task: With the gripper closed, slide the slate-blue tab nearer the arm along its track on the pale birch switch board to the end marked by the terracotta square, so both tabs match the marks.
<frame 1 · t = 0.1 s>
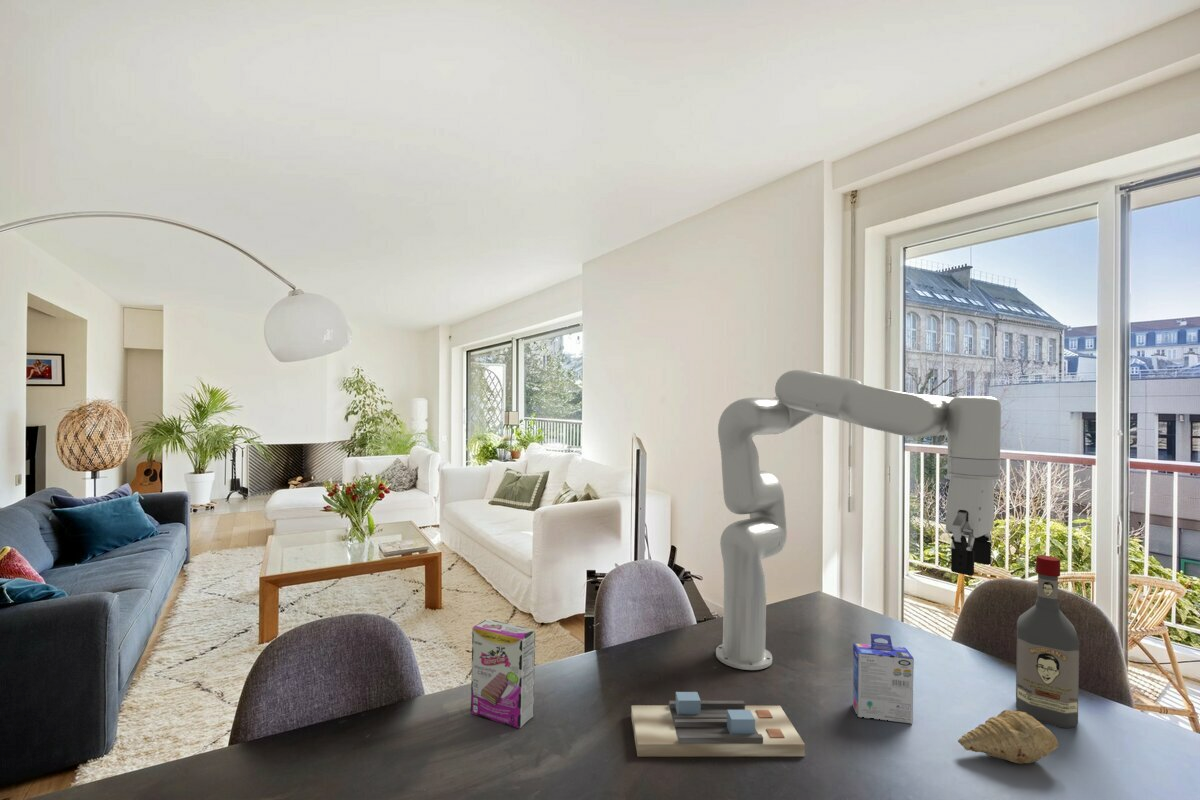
hand: (971, 568, 97), 31 cm above the table, tool pointing down, fingers open, 9 cm apart
ink cartridge box: (881, 714, 108), on the table
candy bar box: (501, 717, 105), on the table
switch board: (713, 735, 100), on the table
seashell: (1002, 761, 95), on the table
liquor: (1045, 714, 109), on the table
tab a: (687, 704, 103), point 4 cm above the table, slide at 0.0 cm
tab b: (740, 723, 97), point 4 cm above the table, slide at 8.0 cm
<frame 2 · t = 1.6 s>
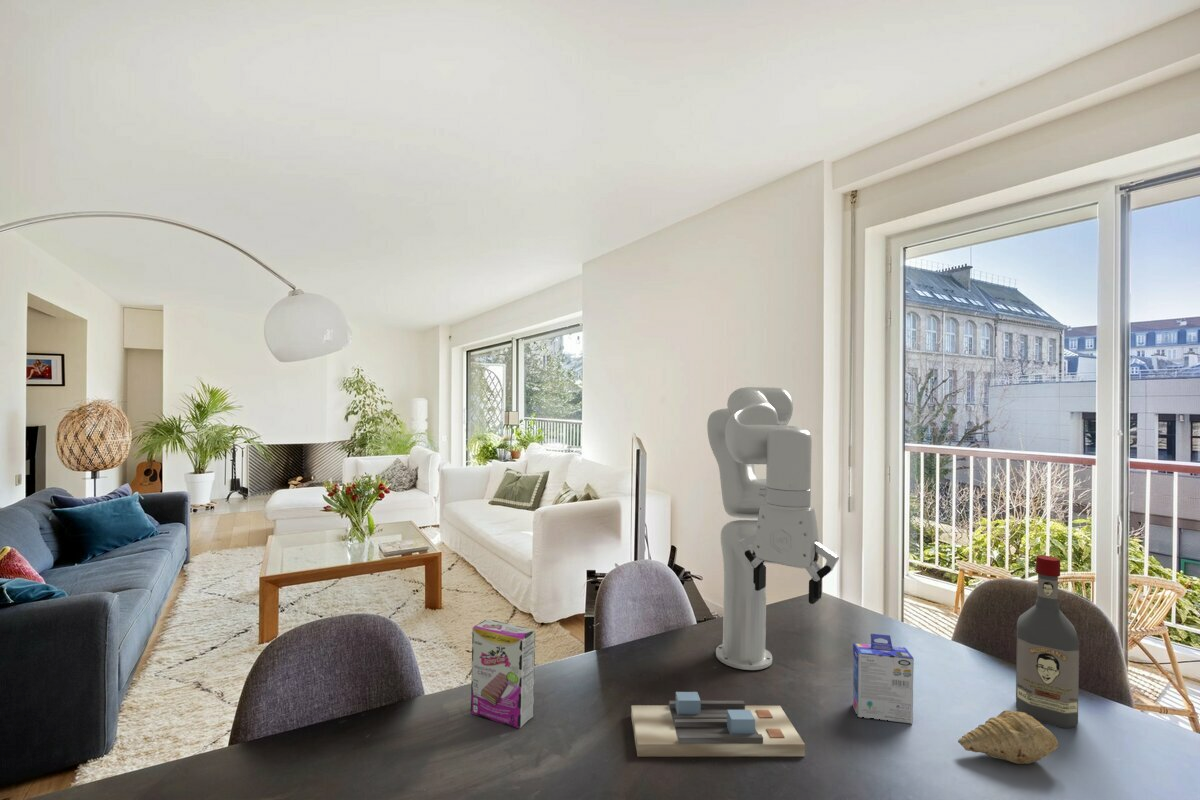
hand: (786, 595, 100), 25 cm above the table, tool pointing down, fingers open, 9 cm apart
nothing on the table moved.
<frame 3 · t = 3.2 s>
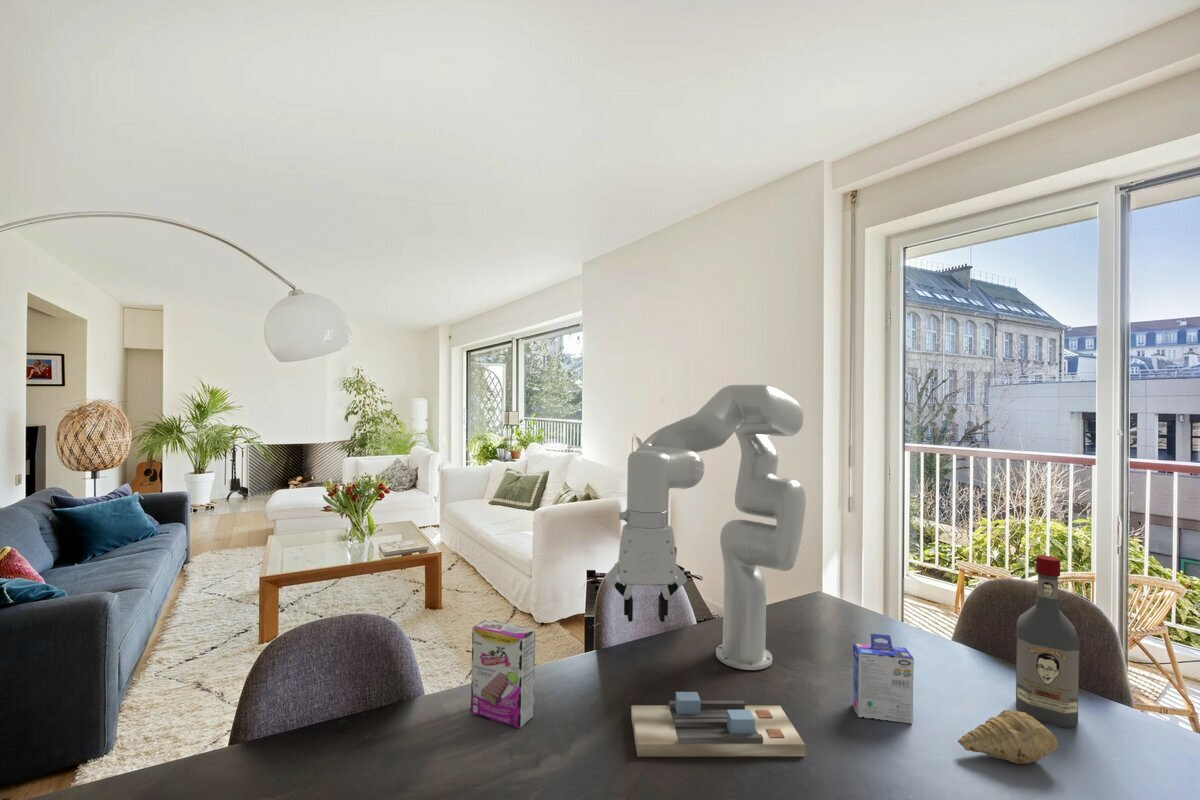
hand: (645, 618, 103), 19 cm above the table, tool pointing down, fingers open, 5 cm apart
nothing on the table moved.
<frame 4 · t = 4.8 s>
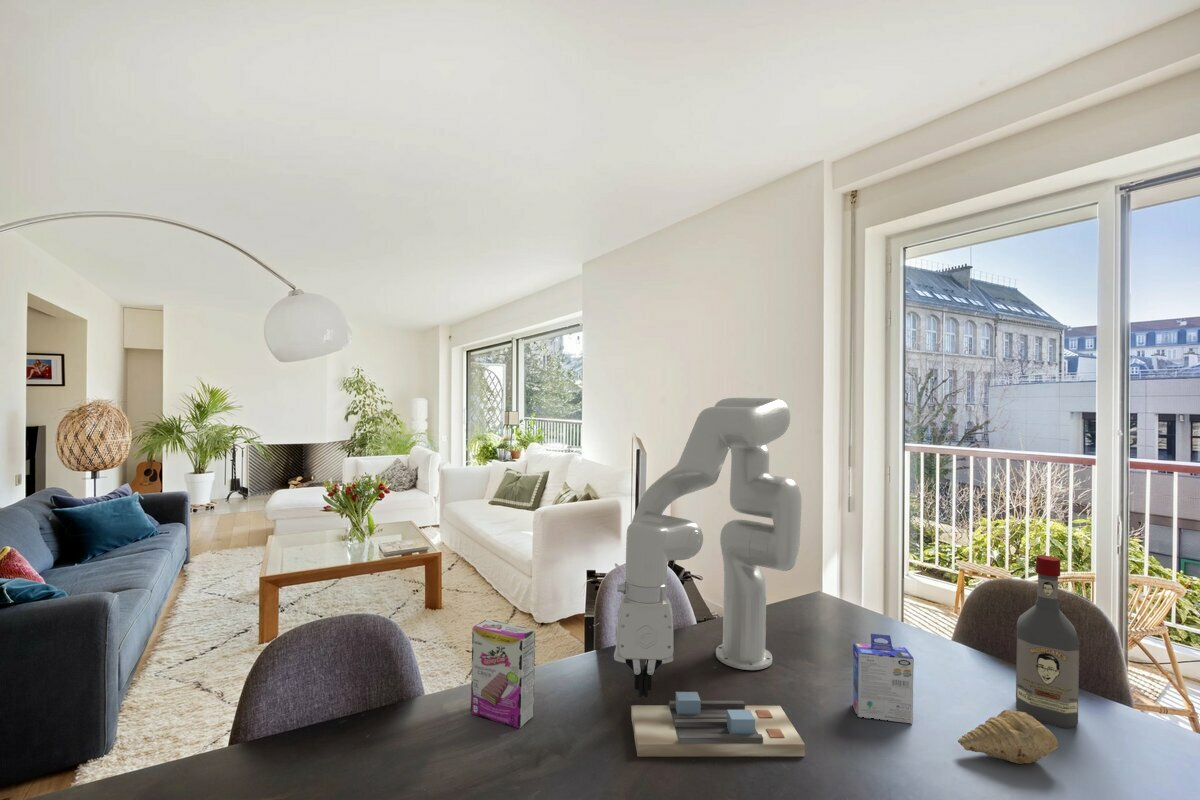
hand: (642, 693, 102), 6 cm above the table, tool pointing down, fingers closed
nothing on the table moved.
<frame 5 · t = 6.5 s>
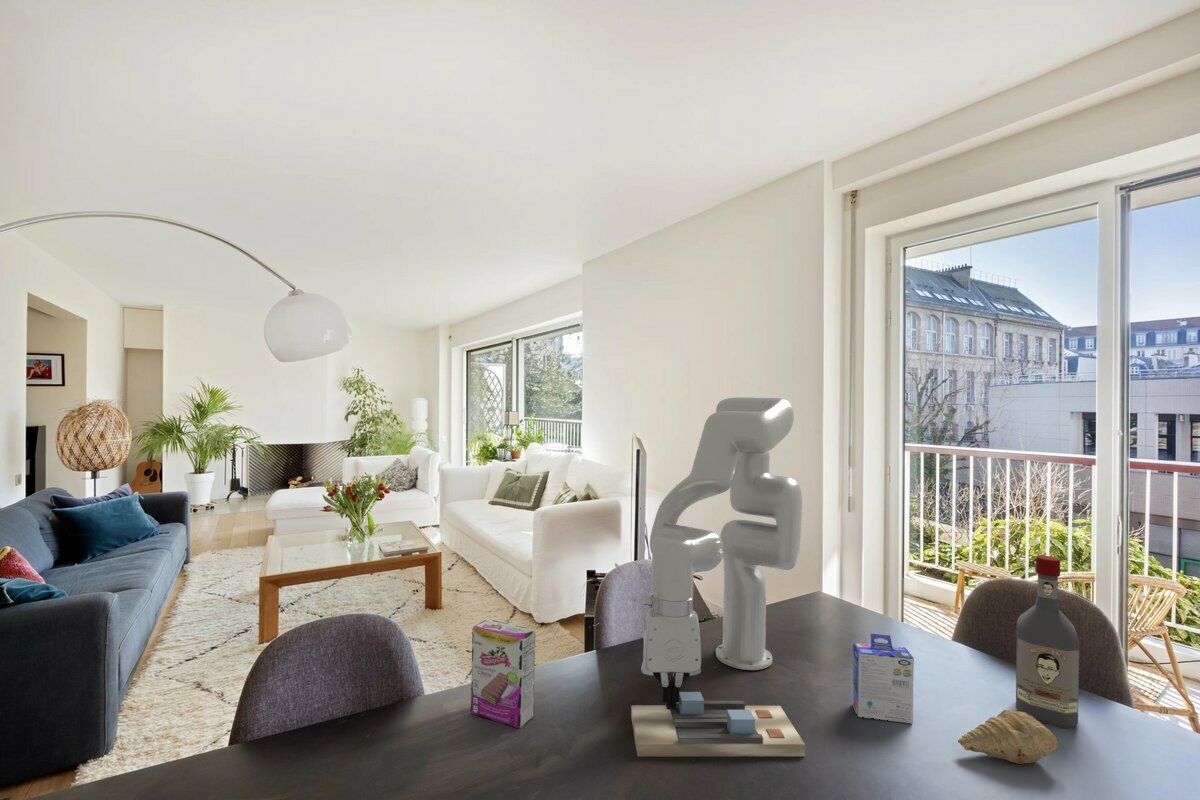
hand: (670, 705, 103), 4 cm above the table, tool pointing down, fingers closed
tab a: (691, 704, 103), point 4 cm above the table, slide at 0.6 cm, touching gripper
everything else where it was.
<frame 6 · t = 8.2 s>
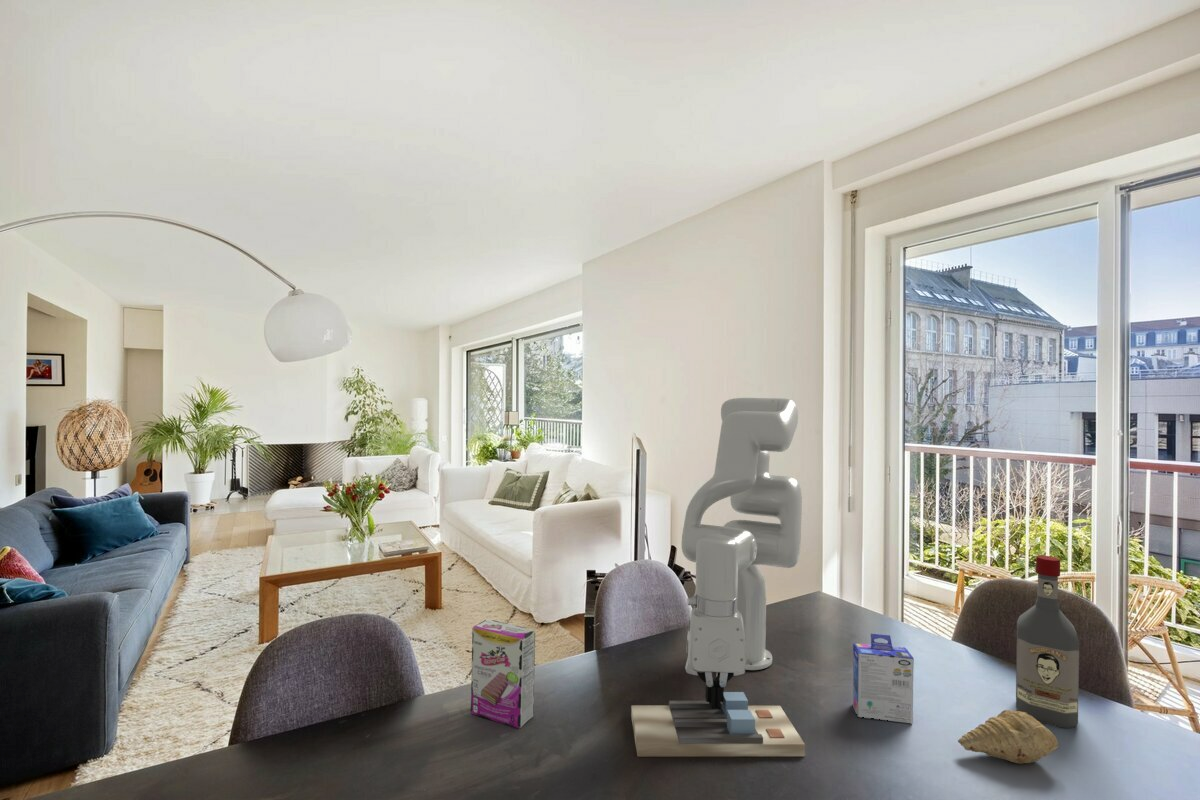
hand: (714, 705, 103), 4 cm above the table, tool pointing down, fingers closed
tab a: (734, 704, 103), point 4 cm above the table, slide at 8.6 cm, touching gripper
everything else where it was.
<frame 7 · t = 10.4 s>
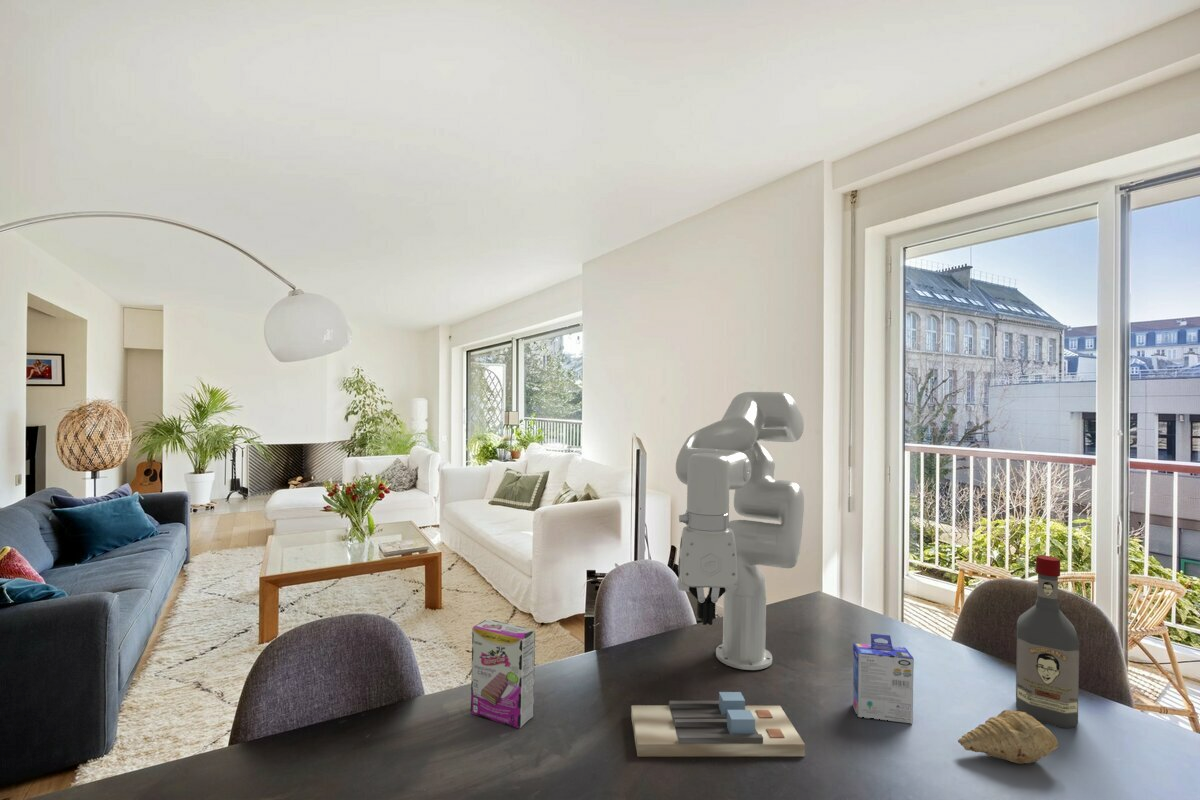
hand: (706, 621, 103), 19 cm above the table, tool pointing down, fingers closed
tab a: (731, 704, 103), point 4 cm above the table, slide at 8.1 cm
everything else where it was.
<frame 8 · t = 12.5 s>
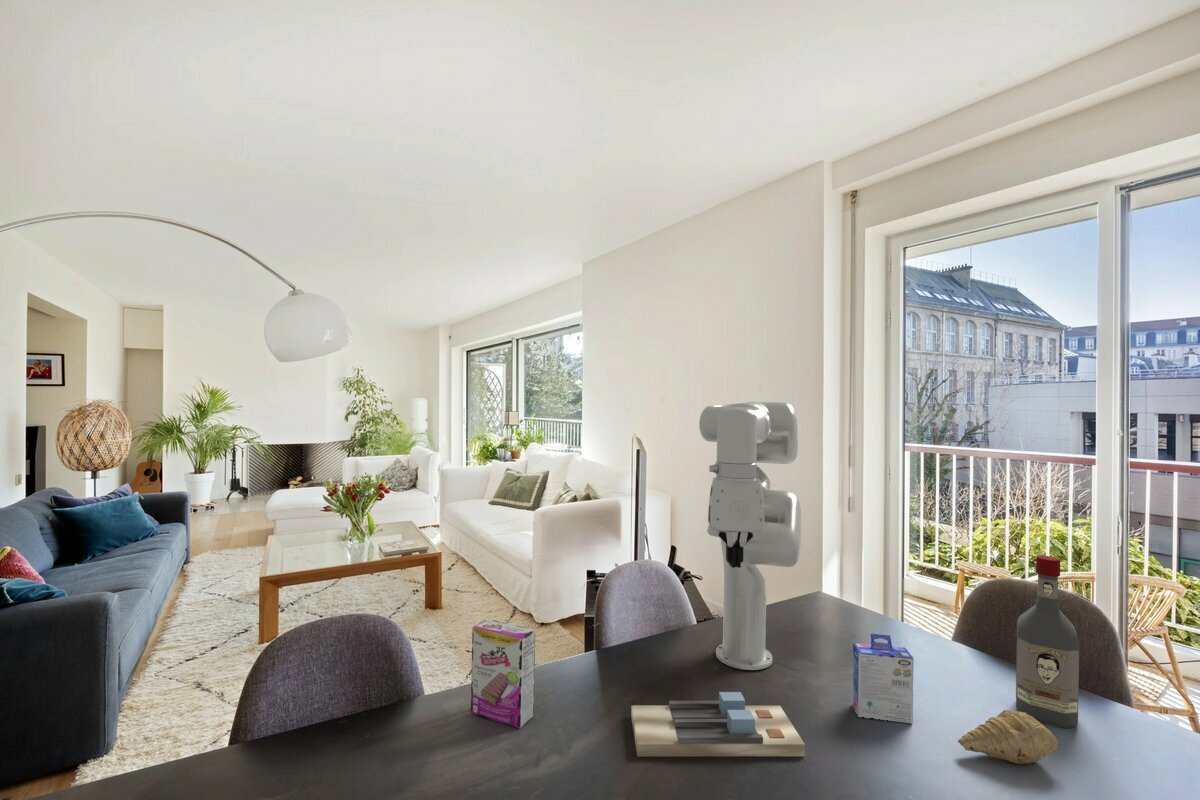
hand: (734, 565, 110), 27 cm above the table, tool pointing down, fingers closed
nothing on the table moved.
at the end: tab a slide at 8.1 cm; tab b slide at 8.0 cm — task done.
